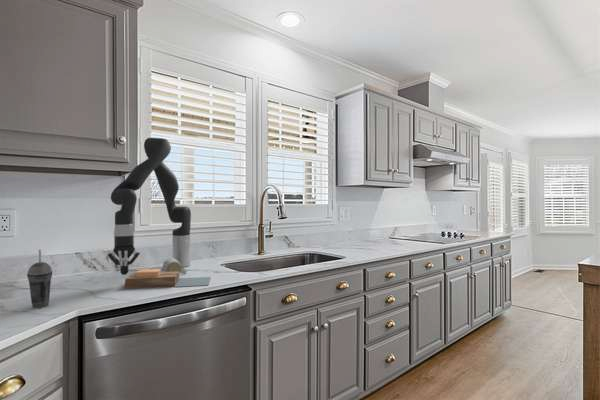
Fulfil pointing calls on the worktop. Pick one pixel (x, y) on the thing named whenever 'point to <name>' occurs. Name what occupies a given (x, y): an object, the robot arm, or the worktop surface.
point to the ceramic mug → (173, 266)
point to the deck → (152, 280)
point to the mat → (193, 282)
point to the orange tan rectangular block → (148, 272)
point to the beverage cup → (39, 283)
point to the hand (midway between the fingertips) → (124, 274)
